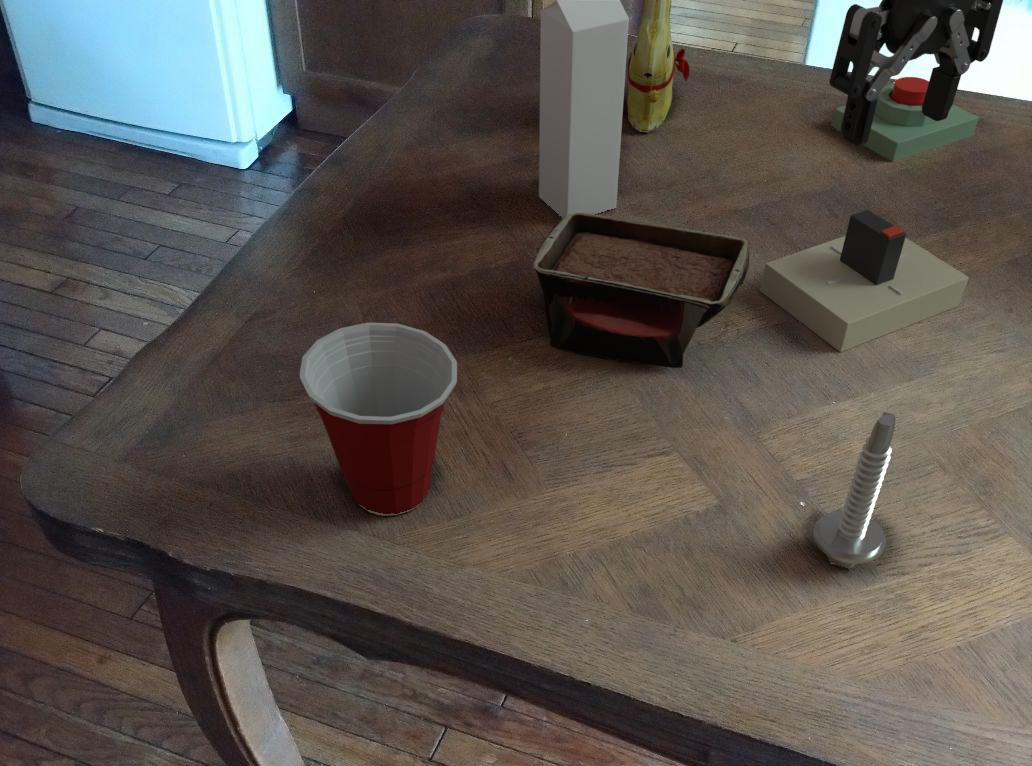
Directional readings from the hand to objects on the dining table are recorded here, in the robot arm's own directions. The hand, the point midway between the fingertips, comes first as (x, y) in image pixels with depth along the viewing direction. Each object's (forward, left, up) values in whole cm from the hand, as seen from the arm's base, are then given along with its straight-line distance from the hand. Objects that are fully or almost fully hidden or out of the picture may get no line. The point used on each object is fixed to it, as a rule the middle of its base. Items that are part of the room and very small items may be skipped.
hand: (894, 128), depth 86 cm
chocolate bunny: (-5, -39, -16) cm, 43 cm away
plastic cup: (+48, +3, -16) cm, 51 cm away
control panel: (0, +1, -16) cm, 16 cm away
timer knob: (0, +1, -13) cm, 13 cm away
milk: (+13, -27, -16) cm, 34 cm away
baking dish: (+20, -6, -16) cm, 26 cm away
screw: (+23, +25, -16) cm, 37 cm away
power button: (-27, -22, -12) cm, 37 cm away
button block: (-27, -22, -16) cm, 39 cm away
